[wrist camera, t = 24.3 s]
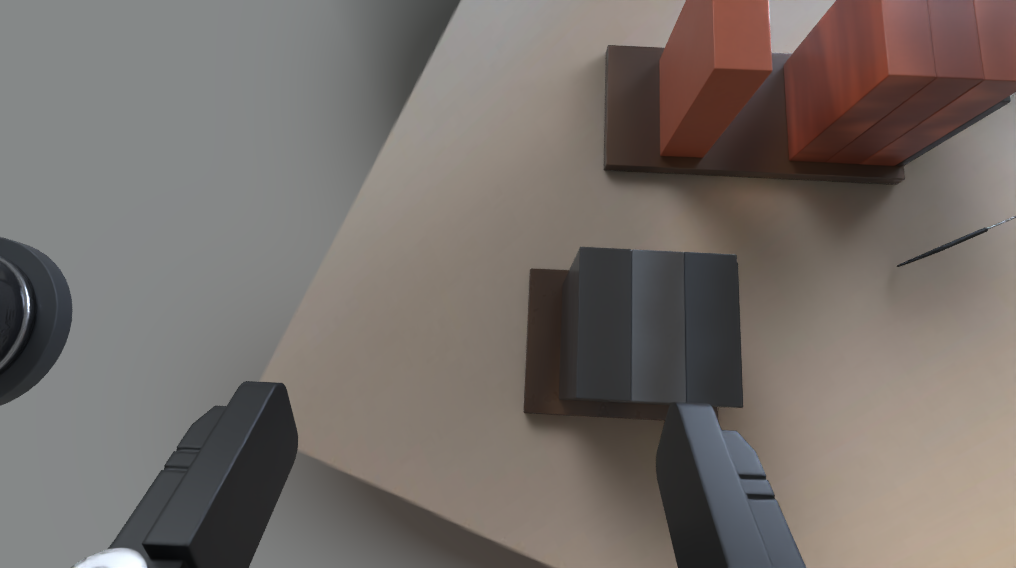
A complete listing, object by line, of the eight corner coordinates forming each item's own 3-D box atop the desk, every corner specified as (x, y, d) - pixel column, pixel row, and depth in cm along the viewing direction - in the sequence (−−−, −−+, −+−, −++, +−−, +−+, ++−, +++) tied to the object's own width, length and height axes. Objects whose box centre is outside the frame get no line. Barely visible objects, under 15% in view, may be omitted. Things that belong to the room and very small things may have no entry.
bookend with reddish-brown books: (603, 170, 42) (641, 79, 30) (605, 52, 44) (641, -75, 32) (896, 184, 42) (1048, 99, 30) (884, 65, 44) (1022, -58, 32)
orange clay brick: (659, 156, 41) (714, 68, 30) (659, 59, 43) (710, -56, 32) (703, 158, 41) (773, 71, 30) (700, 61, 43) (766, -54, 32)
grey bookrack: (523, 412, 38) (529, 416, 28) (529, 271, 40) (537, 226, 30) (712, 422, 38) (789, 430, 28) (709, 280, 40) (779, 238, 30)
